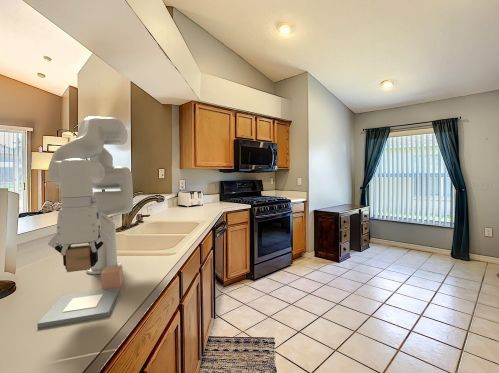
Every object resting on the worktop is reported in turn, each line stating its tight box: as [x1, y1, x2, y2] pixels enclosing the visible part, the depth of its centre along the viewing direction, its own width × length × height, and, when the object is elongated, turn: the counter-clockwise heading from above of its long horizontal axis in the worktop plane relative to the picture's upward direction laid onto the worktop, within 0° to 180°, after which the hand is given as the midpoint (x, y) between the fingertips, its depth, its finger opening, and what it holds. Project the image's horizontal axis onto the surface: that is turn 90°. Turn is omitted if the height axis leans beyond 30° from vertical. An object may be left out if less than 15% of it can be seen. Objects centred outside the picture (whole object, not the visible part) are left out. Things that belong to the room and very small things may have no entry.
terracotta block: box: [100, 265, 124, 290], centre depth 89 cm, size 6×6×6 cm
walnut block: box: [65, 243, 92, 273], centre depth 74 cm, size 6×6×6 cm
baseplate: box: [36, 287, 121, 329], centre depth 75 cm, size 16×16×1 cm
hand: (81, 265), depth 74 cm, fingers closed on walnut block, 5 cm apart
